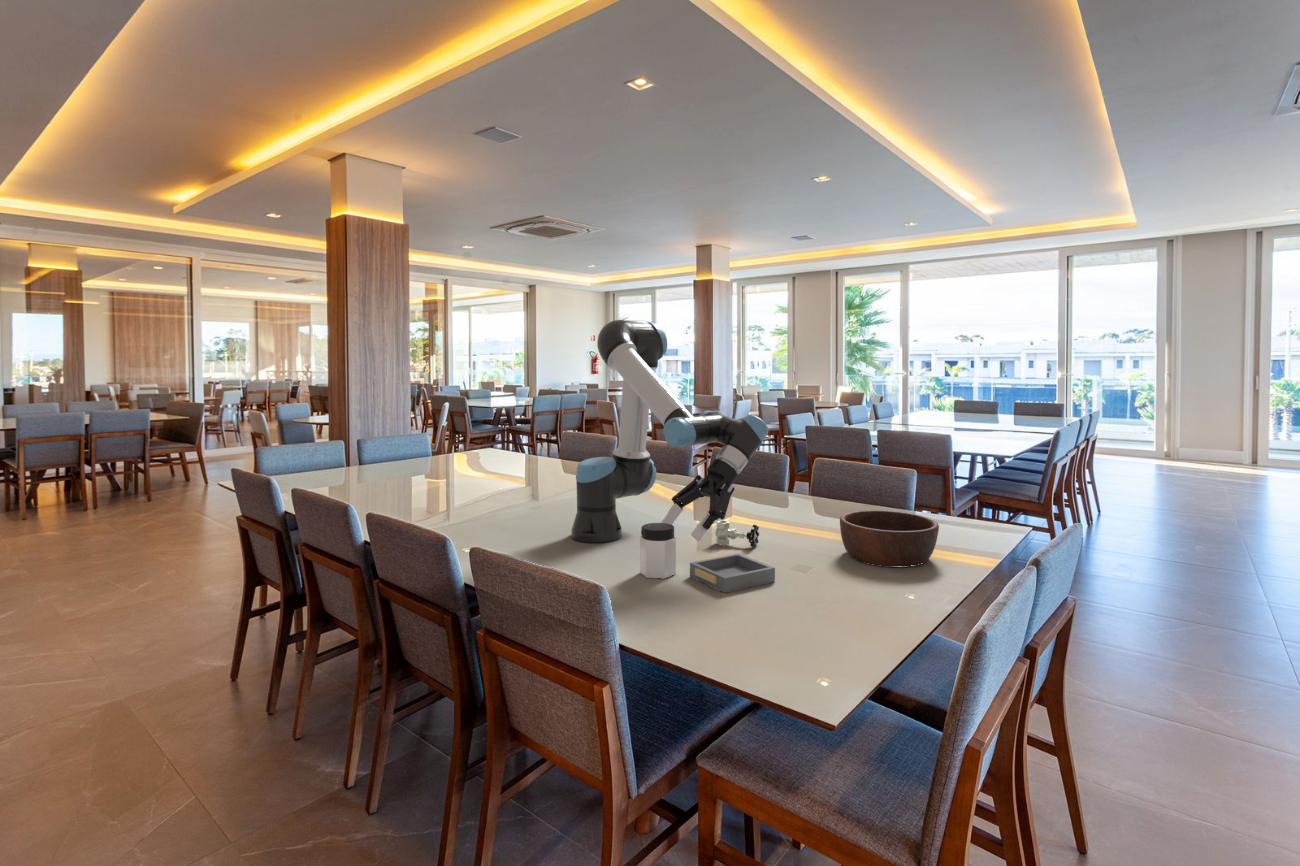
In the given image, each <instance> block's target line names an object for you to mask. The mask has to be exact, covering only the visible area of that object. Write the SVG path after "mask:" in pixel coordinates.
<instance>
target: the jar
mask: <svg viewBox="0 0 1300 866" xmlns="http://www.w3.org/2000/svg"><path fill="white" fill-rule="evenodd" d="M640 534H641V536H639V572H640V574H642V576H644V577H645V578H646V579H657V578H661V579H662V580H665V579H667V577H668V578H670V577H673V576H675V575H676V574H677V565H676V564H677V559H676V558H677V539H676V537H675V526H674V525H673V524H672V525H671V524H667V523H661V522H652V523H651V522H650V523H645V524H643V525H642V526H641V531H640ZM672 575H673V576H672Z"/></svg>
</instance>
